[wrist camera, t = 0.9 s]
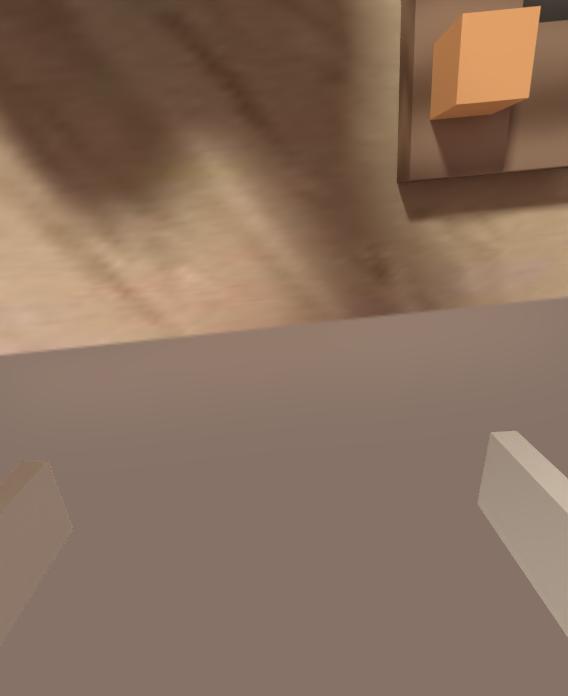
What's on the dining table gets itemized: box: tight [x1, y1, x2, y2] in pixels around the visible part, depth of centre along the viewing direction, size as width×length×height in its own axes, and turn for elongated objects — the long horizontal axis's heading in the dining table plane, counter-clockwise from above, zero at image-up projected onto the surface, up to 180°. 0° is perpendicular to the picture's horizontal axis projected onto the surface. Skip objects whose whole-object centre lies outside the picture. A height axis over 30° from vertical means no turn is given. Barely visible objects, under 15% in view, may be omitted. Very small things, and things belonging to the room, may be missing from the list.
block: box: [430, 6, 541, 120], centre depth 23 cm, size 4×4×4 cm
